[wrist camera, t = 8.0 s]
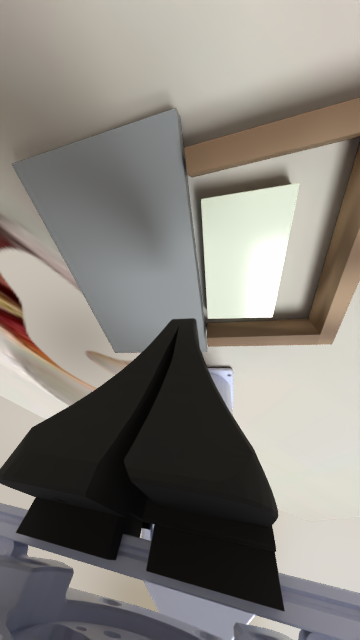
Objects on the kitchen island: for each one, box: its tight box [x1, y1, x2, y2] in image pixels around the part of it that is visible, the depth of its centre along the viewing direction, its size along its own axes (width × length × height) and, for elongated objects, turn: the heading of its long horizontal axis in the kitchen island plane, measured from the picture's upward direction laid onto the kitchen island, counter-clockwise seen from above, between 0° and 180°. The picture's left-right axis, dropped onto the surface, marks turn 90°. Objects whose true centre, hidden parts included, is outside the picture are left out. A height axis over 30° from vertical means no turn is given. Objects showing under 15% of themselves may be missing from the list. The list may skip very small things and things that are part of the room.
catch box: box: [184, 97, 360, 347], centre depth 14 cm, size 15×11×2 cm
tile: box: [201, 183, 300, 319], centre depth 15 cm, size 10×6×2 cm, turn 8°
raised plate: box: [12, 108, 207, 353], centre depth 17 cm, size 19×12×2 cm, turn 10°
